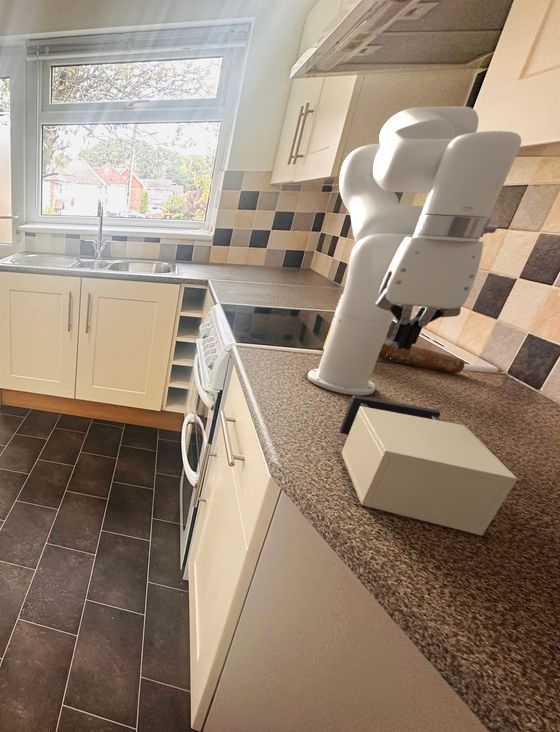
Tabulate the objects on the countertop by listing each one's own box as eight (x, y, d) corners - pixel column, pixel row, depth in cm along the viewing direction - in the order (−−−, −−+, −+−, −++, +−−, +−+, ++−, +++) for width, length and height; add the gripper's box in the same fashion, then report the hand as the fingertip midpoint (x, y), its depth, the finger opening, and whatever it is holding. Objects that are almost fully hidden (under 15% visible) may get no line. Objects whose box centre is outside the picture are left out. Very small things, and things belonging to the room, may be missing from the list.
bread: (367, 352, 114) (375, 332, 112) (459, 372, 103) (470, 351, 100) (364, 357, 110) (371, 337, 108) (460, 379, 98) (471, 357, 96)
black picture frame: (334, 419, 75) (347, 385, 72) (411, 434, 71) (428, 399, 68) (355, 469, 61) (372, 429, 58) (452, 491, 57) (475, 449, 54)
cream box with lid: (341, 453, 67) (359, 405, 63) (438, 474, 62) (464, 425, 59) (361, 505, 55) (385, 450, 52) (482, 535, 51) (518, 478, 47)
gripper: (500, 231, 62) (447, 348, 70) (380, 225, 67) (343, 334, 75) (529, 234, 56) (467, 362, 63) (395, 227, 61) (352, 345, 68)
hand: (400, 346), depth 69 cm, fingers closed
